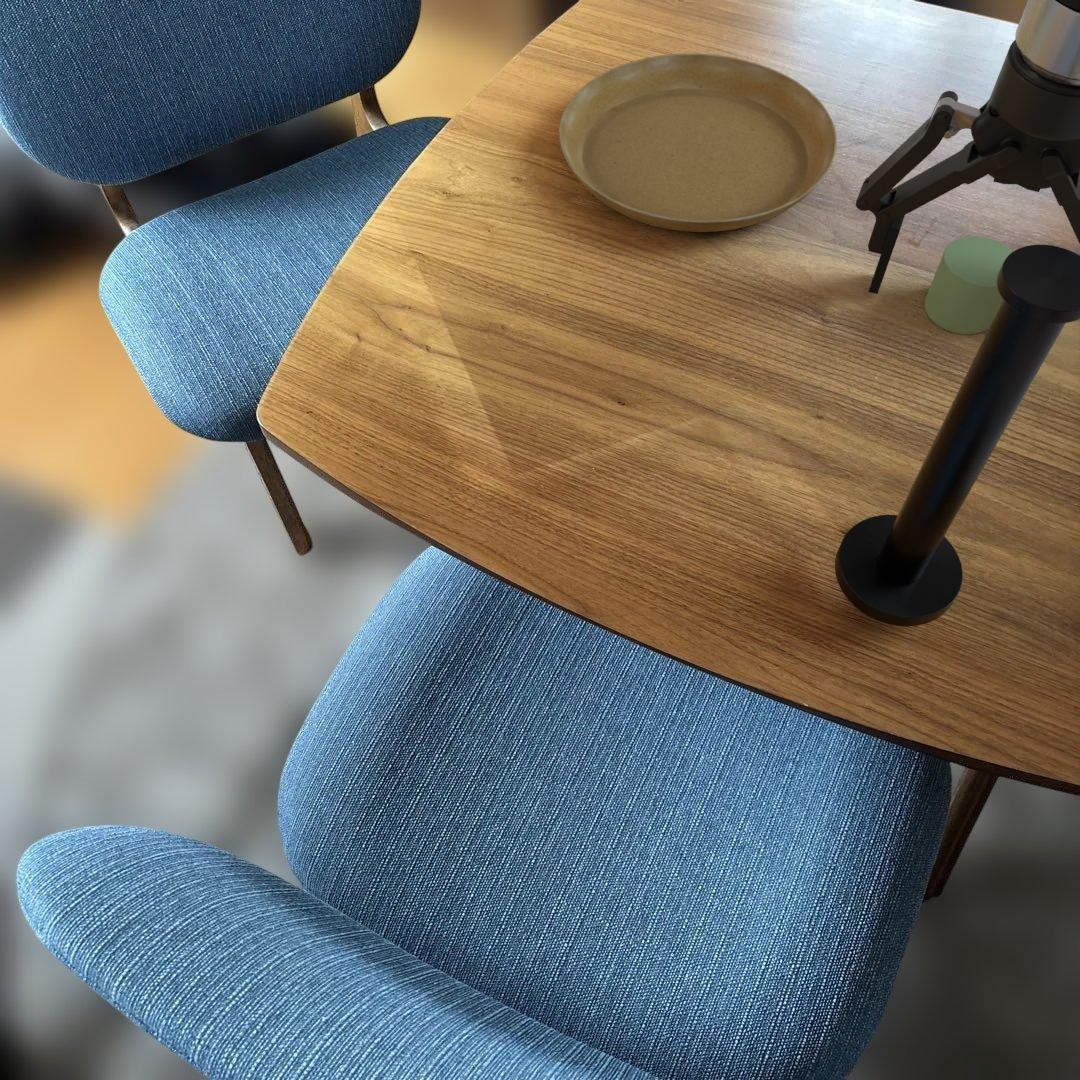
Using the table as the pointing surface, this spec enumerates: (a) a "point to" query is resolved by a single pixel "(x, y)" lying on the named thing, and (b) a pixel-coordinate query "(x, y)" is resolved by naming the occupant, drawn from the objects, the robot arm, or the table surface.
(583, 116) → the plant saucer
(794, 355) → the table surface
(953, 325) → the sage green cylinder
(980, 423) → the stand
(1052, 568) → the table surface
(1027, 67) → the robot arm
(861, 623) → the table surface
